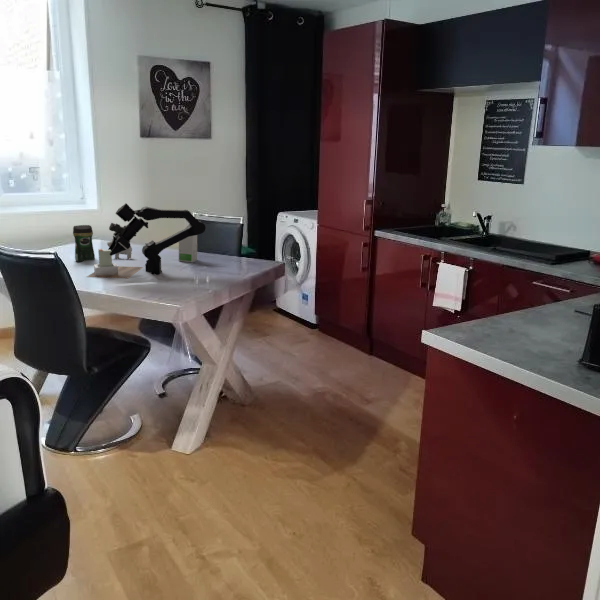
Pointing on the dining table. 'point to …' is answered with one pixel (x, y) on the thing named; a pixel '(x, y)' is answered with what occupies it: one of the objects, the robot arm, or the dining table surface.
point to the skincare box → (188, 249)
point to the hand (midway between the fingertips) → (109, 253)
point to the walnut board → (120, 272)
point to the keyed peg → (105, 258)
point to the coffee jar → (83, 243)
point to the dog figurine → (126, 252)
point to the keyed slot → (106, 270)
